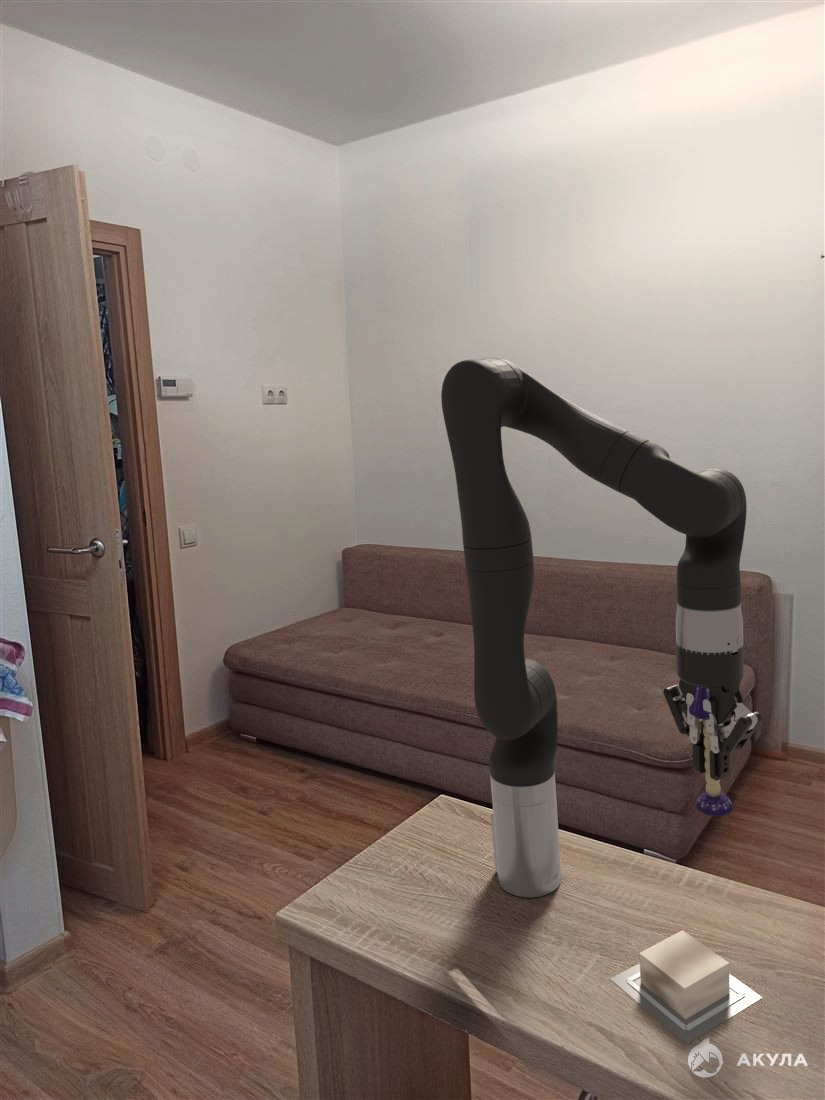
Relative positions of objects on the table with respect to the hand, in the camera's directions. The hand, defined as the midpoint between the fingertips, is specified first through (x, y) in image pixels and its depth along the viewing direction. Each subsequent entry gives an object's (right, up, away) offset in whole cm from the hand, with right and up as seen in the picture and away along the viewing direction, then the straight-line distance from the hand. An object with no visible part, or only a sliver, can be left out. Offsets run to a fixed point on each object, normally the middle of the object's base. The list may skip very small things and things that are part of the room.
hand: (711, 773), depth 101 cm
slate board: (-5, -25, -4) cm, 26 cm away
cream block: (-5, -24, -5) cm, 25 cm away
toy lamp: (+1, -5, +1) cm, 5 cm away
